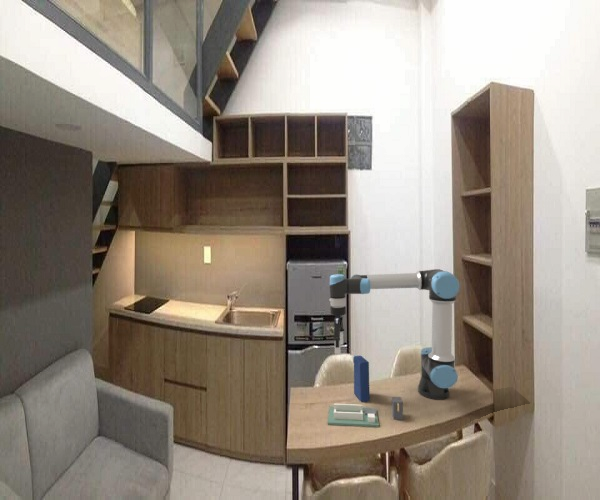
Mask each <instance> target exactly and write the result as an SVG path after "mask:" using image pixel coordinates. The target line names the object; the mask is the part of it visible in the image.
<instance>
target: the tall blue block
mask: <svg viewBox="0 0 600 500" xmlns="http://www.w3.org/2000/svg"><path fill="white" fill-rule="evenodd" d="M352 361H353V379H354V380H353V393H354V395H355V397H357V398H358V400H359V401H360V402H362V403H366V402H367V403H368V402H369V401H370V398H371V397H370V362H369V361H368V360H367V359H365V358H364V356H362V355H354V356H353V358H352Z"/></svg>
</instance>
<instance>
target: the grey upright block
mask: <svg viewBox="0 0 600 500" xmlns="http://www.w3.org/2000/svg"><path fill="white" fill-rule="evenodd" d="M403 406H404V405H403V400H402V398H401V396H391V414H392V415H391V416H392V420H393V421H396V420H397V421H403V420H404V415H403V414H404V410H403Z"/></svg>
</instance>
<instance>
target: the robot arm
mask: <svg viewBox="0 0 600 500" xmlns="http://www.w3.org/2000/svg"><path fill="white" fill-rule="evenodd" d="M385 289H386V290H387V289H418V290H420V291H421V290H422V291H423V290H424V291H429V292H428V294H429V295H428V299H429V301H430V302H432V303H431V304H432V307H431V308H432V309H431V310H432V314H431V316H432V317H431V318H432V319H431V323H432V324H431V347H429V346H428V347H423V348H421V350H420V364H421V365H420V369H421V371H420V372H421V373H420V375H421V377H420V379H419V382H418V384H417V385H418V386H417V393H419V394H420V396H423V397H424V398H427V399H432V400H445V399H447V398H448V397H450V388H452V387H453V386H455V384H456V383H457V382H458V378H459V377H458V376H459V375H458V372H457V370H456V367H455V366H456V362H455V361H456V357H454V355H452V342H453V341H452V340H453V339H452V337H453V336H452V334H453V304H454V303H455V302H456V301H457V294H458V293H459V291H460V282H459V279H458V278H457V277H456V276H455V275H454V274H453V273H451V272H449V271H448V270H447V271H446V270H443V269H438V268H437V269H435V268H434V269H428V270H418V271H416V272H411V273H410V272H409V273H406V272H405V273H384V274H382V273H381V274H361V275H360V274H353V275H352V276H351V277H350V278H346V276H345V275H344V274H339V273H338V274H337V273H336V274H332V275H330V276H329V299H328V301H329V302H330V315H332V316H335V317H334V318H333V322H334V323H333V338H332V341H334V355H341V354H342V352H341V351H342V349H341V348H342V347H341V346H343V345H344V332H345V328H344V325H343V324H344V322H343V321H344V318H343V316H344V315H346V314H347V307H346V305H347V301H346V300H347V299H346V298H347V297H346V295H365V294H366V295H367V294H370V293H371V290H385Z"/></svg>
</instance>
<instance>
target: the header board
mask: <svg viewBox="0 0 600 500" xmlns="http://www.w3.org/2000/svg"><path fill="white" fill-rule="evenodd" d="M328 407H329V408H328V417H327V425H328V426H349V427H363V428H364V427H367V428H369V427H370V428H379V427H380V424H379V423H380V422H379V417H378V411H377V408H376V407H363V404H358V403H357V404H356V403H355V404H354V403H353V404H351V403H333V406H332V405H330V406H328Z"/></svg>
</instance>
